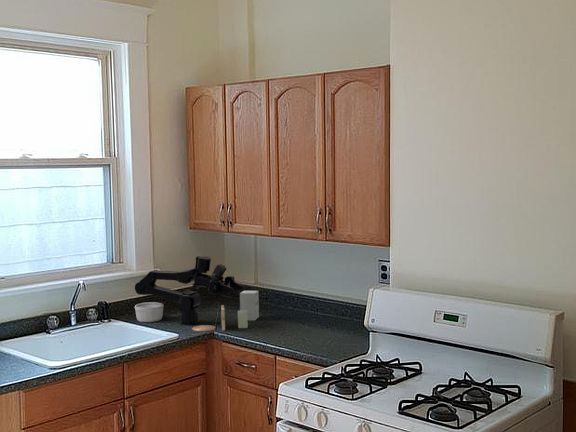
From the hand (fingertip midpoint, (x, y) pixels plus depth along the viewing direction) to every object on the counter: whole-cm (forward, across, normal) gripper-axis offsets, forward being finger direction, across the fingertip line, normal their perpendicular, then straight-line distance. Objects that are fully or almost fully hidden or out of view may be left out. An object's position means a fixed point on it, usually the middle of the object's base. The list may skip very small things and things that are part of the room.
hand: (238, 289), depth 327 cm
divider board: (-3, -2, +18) cm, 18 cm away
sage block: (+4, +2, +16) cm, 17 cm away
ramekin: (-44, +3, +25) cm, 50 cm away
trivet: (-11, -6, +20) cm, 23 cm away
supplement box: (0, +18, +16) cm, 24 cm away
